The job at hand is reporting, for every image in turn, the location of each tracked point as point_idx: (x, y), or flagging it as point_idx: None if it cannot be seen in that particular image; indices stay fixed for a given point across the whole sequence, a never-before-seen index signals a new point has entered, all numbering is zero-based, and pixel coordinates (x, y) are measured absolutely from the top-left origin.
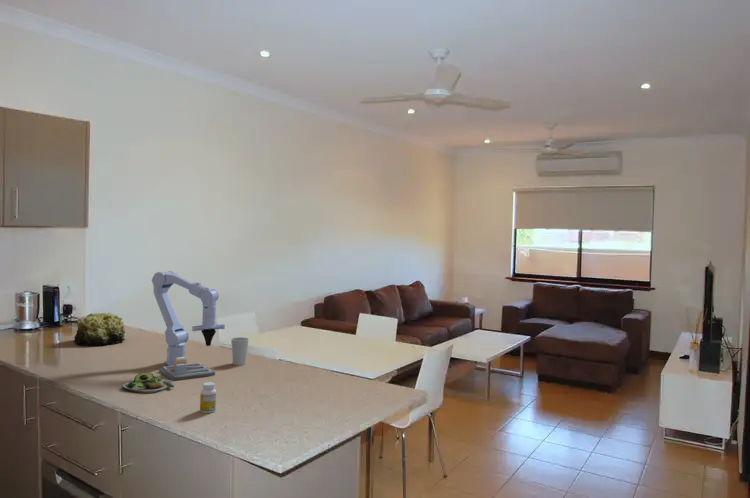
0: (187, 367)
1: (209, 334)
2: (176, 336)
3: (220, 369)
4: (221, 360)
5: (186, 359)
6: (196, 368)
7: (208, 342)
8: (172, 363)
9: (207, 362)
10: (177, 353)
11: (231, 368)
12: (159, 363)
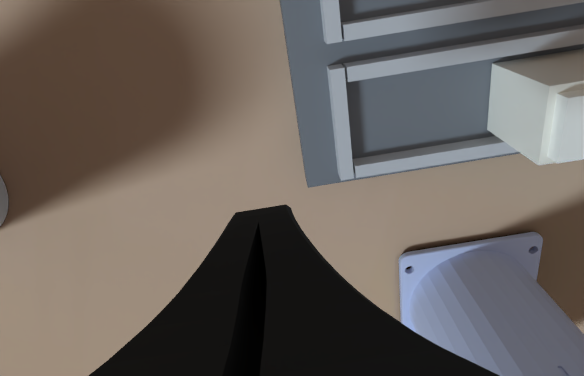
0: (496, 41)
1: (274, 369)
2: None
3: (139, 11)
4: (110, 324)
5: (550, 86)
6: (405, 13)
7: (276, 233)
8: (522, 266)
9: None
10: (543, 320)
11: (11, 17)
12: None
